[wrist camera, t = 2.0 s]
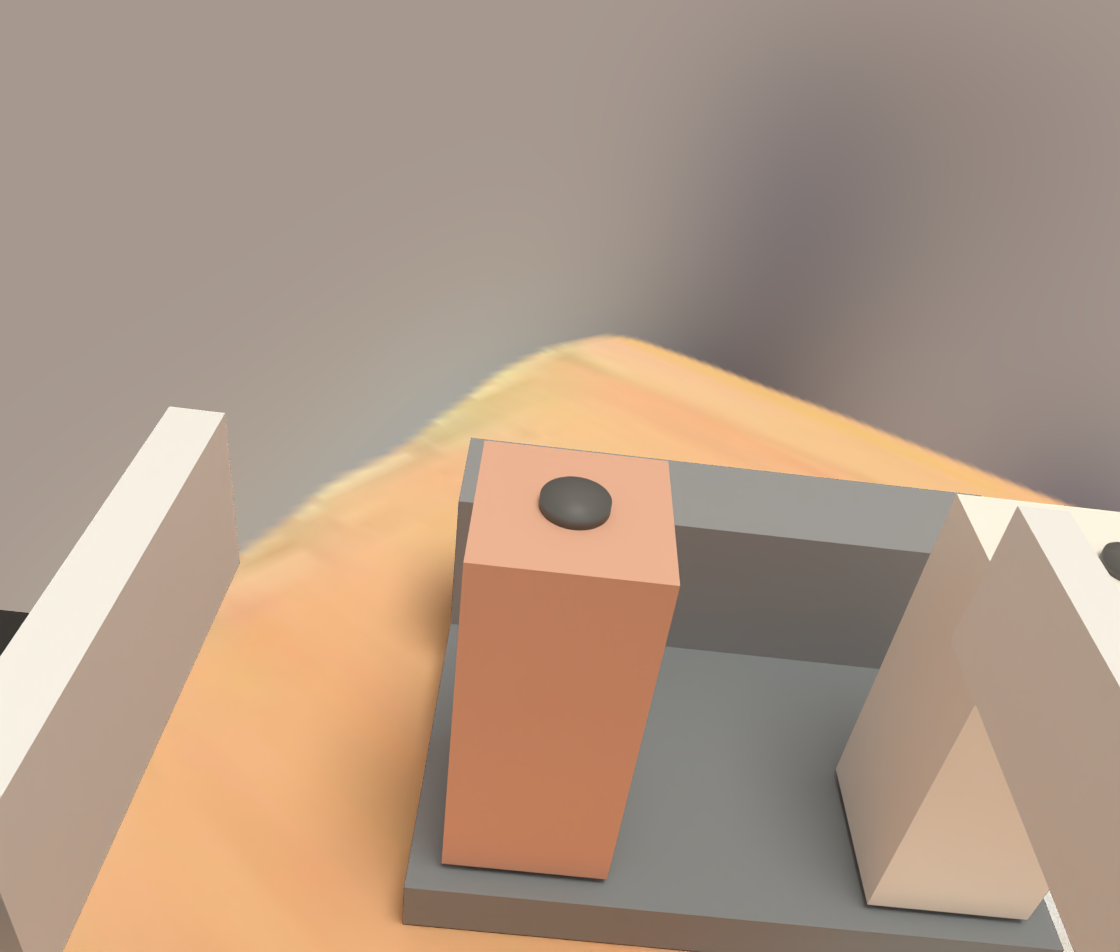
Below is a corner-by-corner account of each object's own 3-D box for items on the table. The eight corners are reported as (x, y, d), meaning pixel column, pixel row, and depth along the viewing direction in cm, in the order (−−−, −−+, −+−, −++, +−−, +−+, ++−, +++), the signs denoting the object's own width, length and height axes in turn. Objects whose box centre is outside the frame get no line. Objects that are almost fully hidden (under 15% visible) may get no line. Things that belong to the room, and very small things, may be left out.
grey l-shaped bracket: (1037, 983, 31) (1156, 833, 26) (402, 923, 30) (408, 758, 25) (914, 639, 43) (981, 495, 38) (459, 591, 42) (470, 437, 38)
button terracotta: (607, 879, 30) (682, 576, 22) (441, 863, 29) (464, 552, 22) (606, 745, 34) (670, 452, 26) (460, 730, 33) (485, 431, 26)
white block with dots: (1027, 920, 30) (1234, 636, 23) (867, 904, 30) (1025, 613, 23) (976, 783, 34) (1138, 505, 27) (835, 768, 34) (960, 485, 27)
